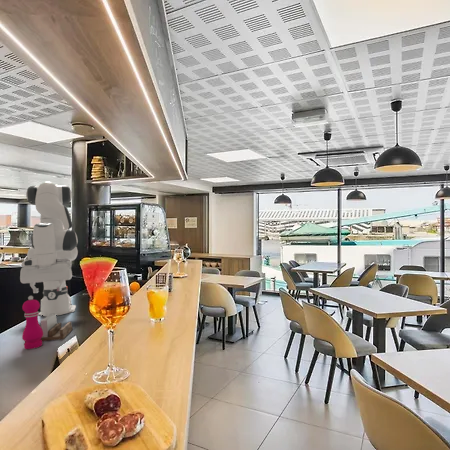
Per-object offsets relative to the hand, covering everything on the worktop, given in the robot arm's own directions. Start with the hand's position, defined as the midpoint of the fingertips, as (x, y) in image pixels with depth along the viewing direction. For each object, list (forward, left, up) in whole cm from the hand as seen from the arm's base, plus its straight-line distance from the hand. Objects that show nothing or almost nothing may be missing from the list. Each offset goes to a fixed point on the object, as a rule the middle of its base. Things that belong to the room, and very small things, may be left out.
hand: (47, 291), depth 148 cm
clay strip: (0, 0, -18) cm, 18 cm away
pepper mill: (+13, -2, -19) cm, 23 cm away
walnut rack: (0, 0, -19) cm, 19 cm away
